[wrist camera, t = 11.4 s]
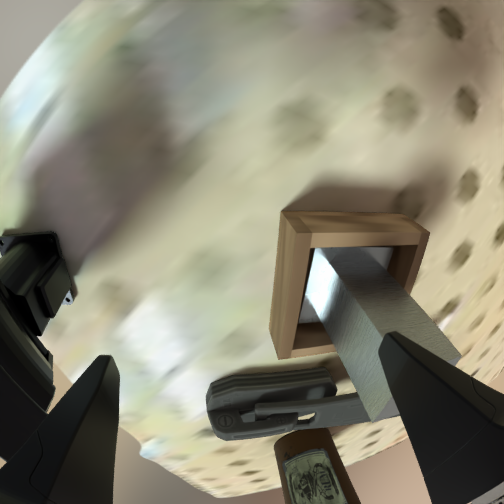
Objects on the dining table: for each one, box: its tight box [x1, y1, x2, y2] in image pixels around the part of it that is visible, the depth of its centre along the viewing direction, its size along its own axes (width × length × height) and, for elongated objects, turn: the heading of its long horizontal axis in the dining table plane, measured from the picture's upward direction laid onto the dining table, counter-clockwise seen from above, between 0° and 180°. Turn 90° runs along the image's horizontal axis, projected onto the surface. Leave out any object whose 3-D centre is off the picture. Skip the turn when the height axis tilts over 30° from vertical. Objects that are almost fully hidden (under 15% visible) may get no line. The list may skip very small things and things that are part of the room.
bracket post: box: [298, 245, 462, 423], centre depth 18 cm, size 7×7×12 cm
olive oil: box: [274, 428, 361, 504], centre depth 29 cm, size 11×11×25 cm
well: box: [269, 211, 430, 360], centre depth 22 cm, size 11×11×4 cm
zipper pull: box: [206, 367, 400, 441], centre depth 29 cm, size 9×7×25 cm
